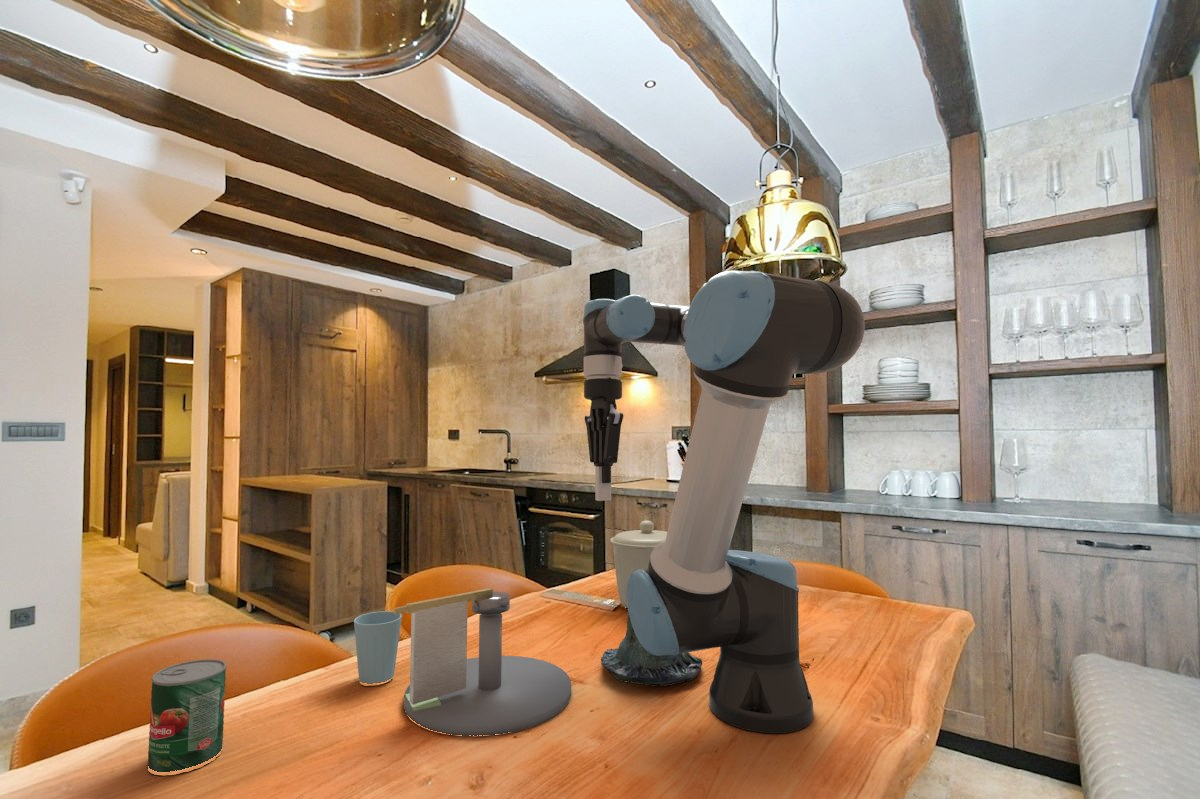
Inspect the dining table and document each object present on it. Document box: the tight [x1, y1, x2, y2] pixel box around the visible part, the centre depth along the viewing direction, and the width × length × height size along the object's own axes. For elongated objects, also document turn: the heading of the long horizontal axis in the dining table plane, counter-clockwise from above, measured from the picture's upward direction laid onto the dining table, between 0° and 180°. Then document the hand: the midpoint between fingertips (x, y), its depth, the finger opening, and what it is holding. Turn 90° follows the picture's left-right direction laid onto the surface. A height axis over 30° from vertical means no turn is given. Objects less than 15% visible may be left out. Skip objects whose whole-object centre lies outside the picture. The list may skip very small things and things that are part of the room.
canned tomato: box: [147, 658, 227, 772], centre depth 74 cm, size 8×8×11 cm
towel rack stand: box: [393, 587, 511, 705], centre depth 88 cm, size 19×6×14 cm, turn 131°
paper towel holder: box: [403, 613, 572, 736], centre depth 92 cm, size 26×26×12 cm
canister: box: [609, 520, 668, 609], centre depth 141 cm, size 18×18×21 cm
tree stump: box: [600, 611, 703, 687], centre depth 102 cm, size 18×20×18 cm
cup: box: [353, 610, 403, 684], centre depth 98 cm, size 8×8×10 cm
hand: (603, 500), depth 111 cm, fingers closed
